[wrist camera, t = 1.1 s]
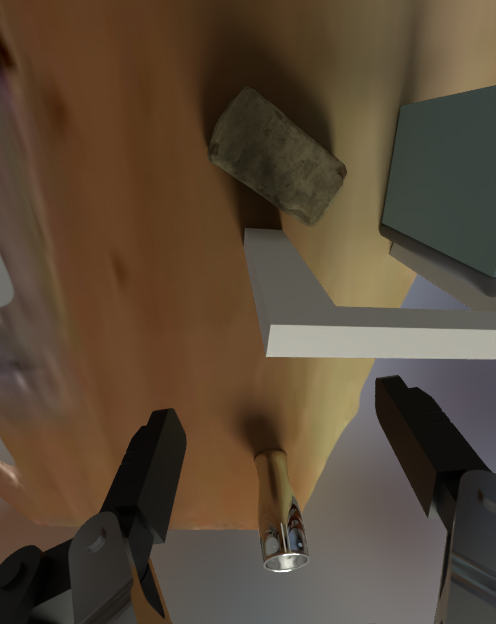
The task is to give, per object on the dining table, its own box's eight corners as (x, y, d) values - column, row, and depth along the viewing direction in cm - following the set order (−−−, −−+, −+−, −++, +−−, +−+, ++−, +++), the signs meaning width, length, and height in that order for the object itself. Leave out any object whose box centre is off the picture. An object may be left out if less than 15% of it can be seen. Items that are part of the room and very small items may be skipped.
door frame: (243, 246, 30) (266, 356, 14) (245, 227, 28) (270, 324, 13) (401, 255, 32) (570, 359, 16) (408, 238, 30) (595, 332, 15)
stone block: (302, 220, 29) (315, 233, 24) (202, 155, 25) (198, 157, 21) (337, 167, 26) (359, 171, 22) (234, 86, 23) (236, 73, 18)
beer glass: (247, 453, 49) (256, 560, 37) (284, 443, 49) (306, 549, 36) (257, 472, 53) (268, 576, 40) (292, 463, 52) (315, 566, 40)
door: (399, 105, 24) (577, 67, 12) (415, 104, 24) (608, 63, 12) (378, 236, 30) (482, 298, 18) (391, 235, 30) (503, 295, 18)
